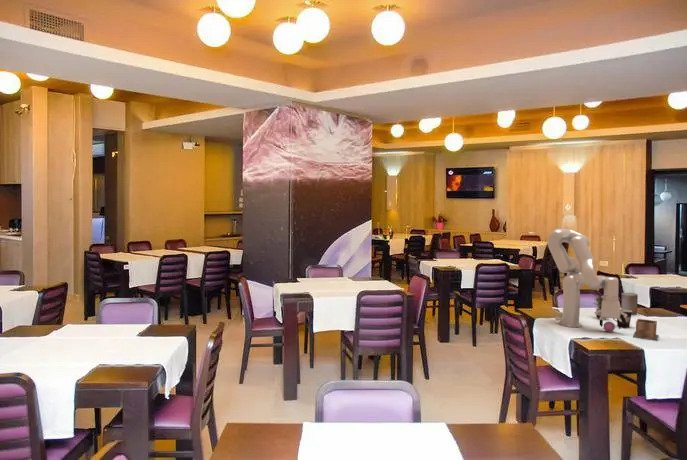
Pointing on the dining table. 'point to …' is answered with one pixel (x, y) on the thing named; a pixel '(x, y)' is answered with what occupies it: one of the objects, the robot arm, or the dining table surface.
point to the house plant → (599, 305)
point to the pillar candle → (630, 302)
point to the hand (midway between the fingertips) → (610, 327)
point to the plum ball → (609, 326)
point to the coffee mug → (627, 321)
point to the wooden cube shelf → (646, 329)
